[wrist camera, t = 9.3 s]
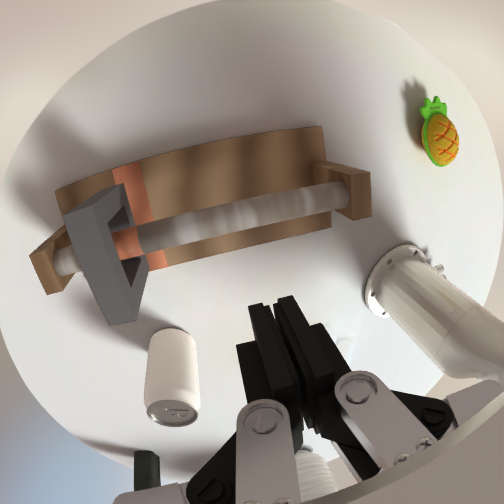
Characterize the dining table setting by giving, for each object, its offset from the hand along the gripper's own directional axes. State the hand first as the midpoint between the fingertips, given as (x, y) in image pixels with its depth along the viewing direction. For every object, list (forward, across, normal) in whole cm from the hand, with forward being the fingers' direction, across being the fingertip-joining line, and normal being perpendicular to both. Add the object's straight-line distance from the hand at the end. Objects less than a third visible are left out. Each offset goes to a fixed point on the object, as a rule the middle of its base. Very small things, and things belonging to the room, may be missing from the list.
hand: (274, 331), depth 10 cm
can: (+22, +11, +17) cm, 30 cm away
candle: (+22, +31, +51) cm, 64 cm away
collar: (+18, +10, -1) cm, 20 cm away
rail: (+21, +3, -1) cm, 22 cm away
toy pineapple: (+22, -30, -6) cm, 38 cm away
